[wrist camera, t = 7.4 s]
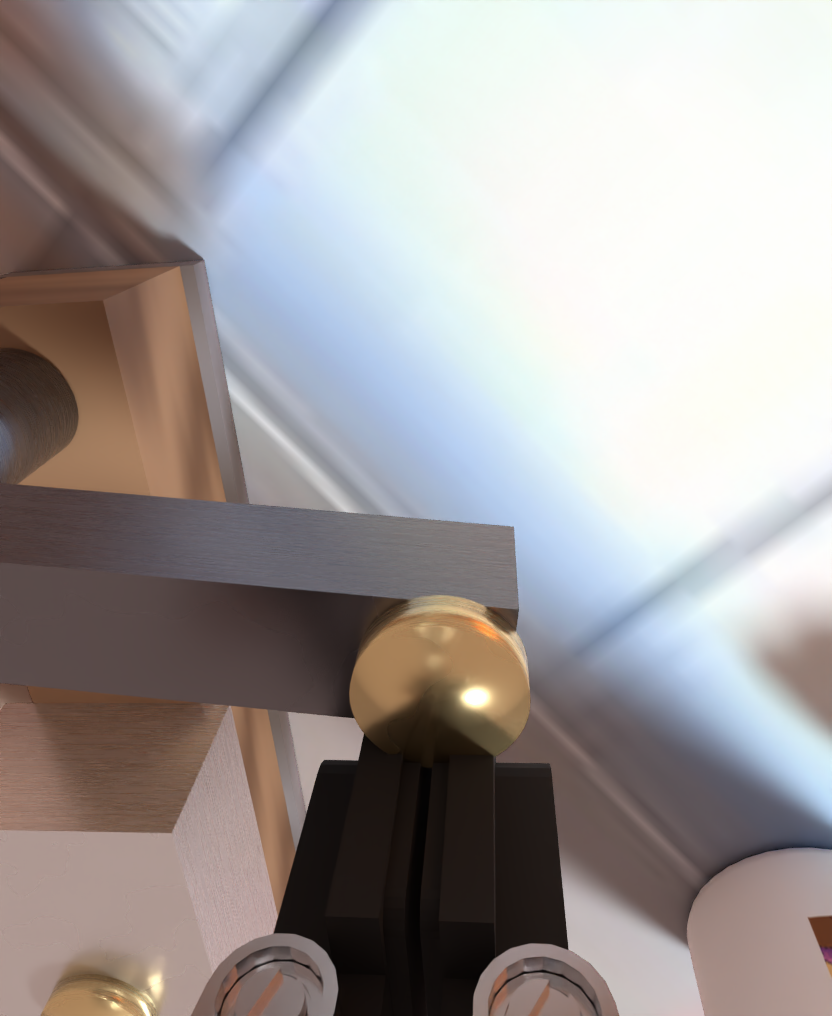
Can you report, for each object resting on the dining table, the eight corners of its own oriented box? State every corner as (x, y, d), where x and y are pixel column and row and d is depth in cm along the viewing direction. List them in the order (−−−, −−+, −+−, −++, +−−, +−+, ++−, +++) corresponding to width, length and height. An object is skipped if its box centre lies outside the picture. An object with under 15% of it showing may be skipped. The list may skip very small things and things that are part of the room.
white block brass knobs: (6, 703, 20) (-119, 851, 16) (230, 703, 19) (160, 858, 15) (85, 911, 24) (-1, 1076, 19) (277, 916, 23) (231, 1089, 19)
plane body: (11, 272, 20) (-251, 352, 13) (204, 260, 20) (40, 336, 12) (202, 931, 31) (118, 1169, 24) (328, 936, 31) (280, 1180, 24)
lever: (-22, 453, 17) (-402, 695, 10) (-46, 343, 16) (-492, 525, 9) (505, 496, 16) (518, 790, 9) (518, 386, 15) (544, 618, 8)
